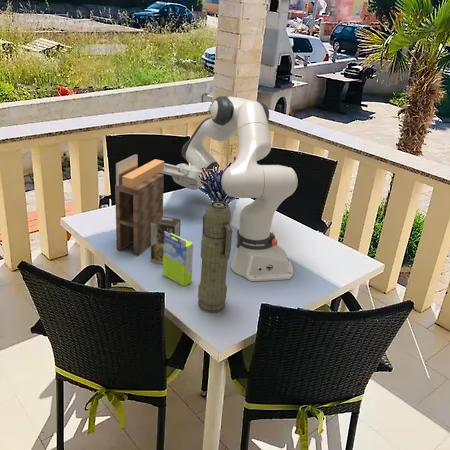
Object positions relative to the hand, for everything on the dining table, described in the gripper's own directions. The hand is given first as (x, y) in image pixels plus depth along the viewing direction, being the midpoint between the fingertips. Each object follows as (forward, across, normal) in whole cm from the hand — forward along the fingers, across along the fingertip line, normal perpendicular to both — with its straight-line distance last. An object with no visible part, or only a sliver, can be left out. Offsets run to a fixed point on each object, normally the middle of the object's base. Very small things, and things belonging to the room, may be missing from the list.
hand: (169, 167), depth 205 cm
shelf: (+6, 0, +32) cm, 32 cm away
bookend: (+22, -3, +11) cm, 25 cm away
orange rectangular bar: (+17, 0, +8) cm, 19 cm away
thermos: (+26, +41, +43) cm, 65 cm away
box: (+19, +24, +39) cm, 50 cm away
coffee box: (+12, +15, +35) cm, 40 cm away
